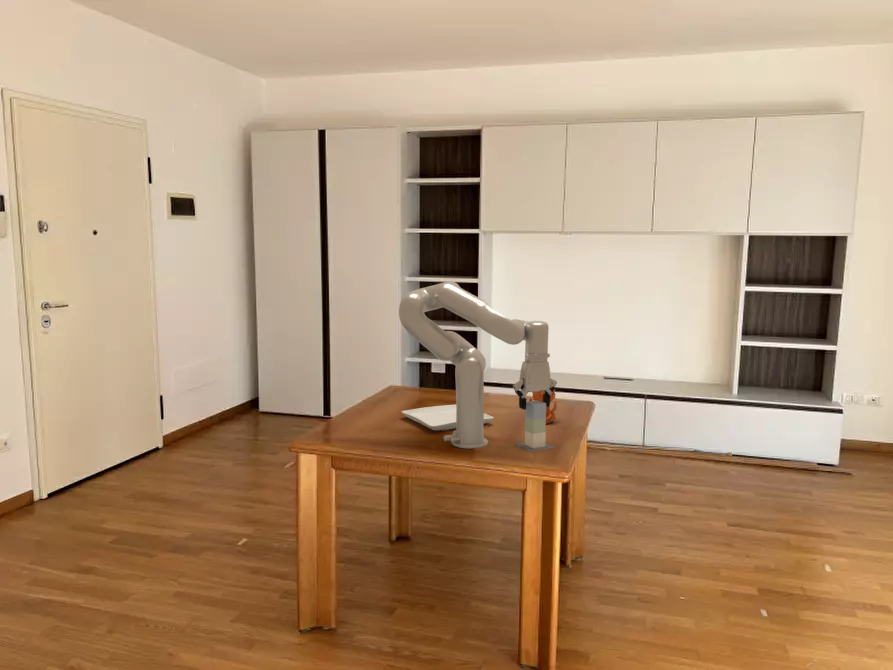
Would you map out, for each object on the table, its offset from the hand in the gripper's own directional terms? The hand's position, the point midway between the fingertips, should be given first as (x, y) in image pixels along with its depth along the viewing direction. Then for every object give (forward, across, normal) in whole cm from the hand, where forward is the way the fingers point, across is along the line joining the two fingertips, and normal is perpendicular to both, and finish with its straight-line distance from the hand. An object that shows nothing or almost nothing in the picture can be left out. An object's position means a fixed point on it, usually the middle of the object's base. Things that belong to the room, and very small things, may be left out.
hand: (534, 407), depth 238 cm
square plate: (+15, +11, -43) cm, 47 cm away
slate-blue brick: (+3, 0, +1) cm, 3 cm away
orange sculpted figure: (+14, -22, -25) cm, 36 cm away
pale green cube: (+8, 0, 0) cm, 8 cm away
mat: (+14, 0, +1) cm, 14 cm away
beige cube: (+13, 0, +1) cm, 13 cm away
